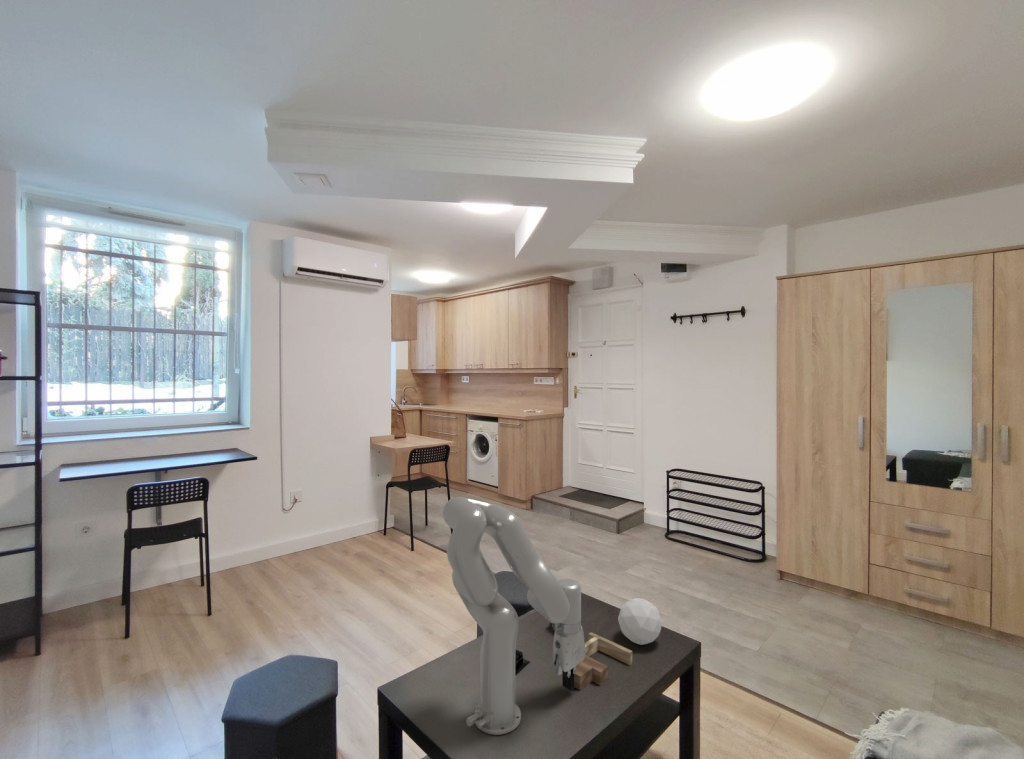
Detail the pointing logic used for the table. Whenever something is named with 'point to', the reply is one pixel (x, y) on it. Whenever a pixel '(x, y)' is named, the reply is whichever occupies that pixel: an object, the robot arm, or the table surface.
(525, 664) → the build plate
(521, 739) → the table surface
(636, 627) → the white faceted ball
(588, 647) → the light wooden angled piece
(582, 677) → the tee block
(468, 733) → the table surface
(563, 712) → the table surface
